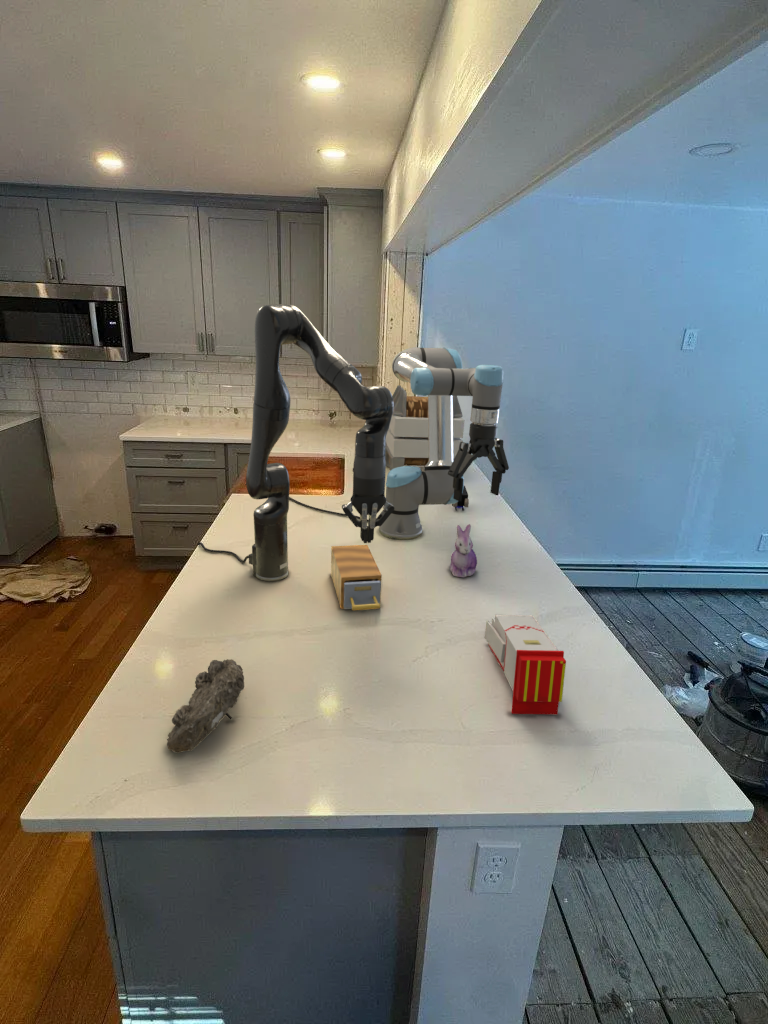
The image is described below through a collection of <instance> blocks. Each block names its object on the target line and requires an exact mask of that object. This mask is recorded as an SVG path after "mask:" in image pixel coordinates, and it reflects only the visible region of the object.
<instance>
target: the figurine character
mask: <svg viewBox="0 0 768 1024" xmlns="http://www.w3.org/2000/svg"><path fill="white" fill-rule="evenodd" d="M469 505H470V500H469V492H468V490H467V488H466V485H464V488H463V492H462V500H461V501H458V502H457V503H455V504H451V506H452V507H453V508H454V511H456V512H457V511H458V509H461V511H462V512H464V511H465V508H469Z"/></svg>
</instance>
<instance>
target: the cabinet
mask: <svg viewBox="0 0 768 1024" xmlns="http://www.w3.org/2000/svg"><path fill="white" fill-rule="evenodd" d="M330 548H331V550H330V553H331V554H330V555H331V556H330V576H331V579H332V583H333V586H334V590H335V593H336V597H337V600H338V604H339V607H340V609H341V610H345V609H344V583H345V581H349V580H366V579H375V581H380V582H381V583H382V581H383V580H382V576H383V575H382V572H381V571H380V569H379V566H378V565H377V562H376V560H375V557H374V555H373V554H372V551H371V549H370V548H369V545H368V544H353V545H352V544H351V545H332V546H330ZM381 599H382V592H381V593H380V603H381V602H382V600H381Z"/></svg>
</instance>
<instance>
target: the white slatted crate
mask: <svg viewBox="0 0 768 1024" xmlns="http://www.w3.org/2000/svg"><path fill="white" fill-rule="evenodd" d="M407 394H408V393H407V390H406V389H404V388H403V387H402V385H399V384H398V385H397V386H396V388H395V390H394V392H393V394H392V397H393V403H394V407H393V414H392V418H391V422H390V425H389V429H388V432H387V435H386V448H385V461H386V467H388V468H389V471H390V470H392V469H394V468H397V467H402V466H416V467H425V465H426V464H427V463H428V462H429V439H428V396H419V395H414V396H413V395H412V396H411V395H407ZM452 398H453V461H454V458H455V456H456V454H457V452H458V450H459V445H460V442H464V441H463V440H462V439H463V438H464V431H465V430H464V429H465V419H464V418H463V411H462V408H461V405H460V402H459V398H458V396H452Z"/></svg>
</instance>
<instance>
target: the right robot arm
mask: <svg viewBox="0 0 768 1024" xmlns="http://www.w3.org/2000/svg"><path fill="white" fill-rule="evenodd" d="M391 368H392V373H393V375H394V376H395V377H396V378H397V379H398V380H400V381H401V382H405V383H409V384H410V390H411V393H412V394H413V395H414V396H422V397H428V439H429V462H428V463H427V464H426V465H425V466H424V470H423V471H422V469H421V467H420V466H407V465H404V466H402V467H397V468H394V469H392V470H390V469H389V470H388V472H387V475H386V480H385V498H386V501H387V502H388V503H391V504H392V505H393V506H394V511H393V512H392V513H391V514H390V516H389V517H388V518H387V519H386V520H385V522H384V523H383V524H382V525H381V526H378V533H379V534H380V535H381V536H382V537H385V538H387V539H389V540H395V541H410V540H415V539H418V538H420V537H421V536H422V535H423V525H422V524H421V518H420V515H419V507H420V506H427V505H428V506H433V505H434V506H435V505H444V506H447V505H452V504H455V503H457V502H458V501H461V500H462V492H463V488H464V486H465V476H464V474H465V473H466V472H467V470H468V469H469V468H470V466H471V465H472V464H473V462H474V461H476V460H477V458H479V459H480V458H483V457H484V458H487V459H488V461H489V462H490V464H491V465H492V467H493V469H494V470H493V471H492V475H491V483H490V484H491V485H490V494H492V495H495V496H499V493H500V484H502V482H503V481H502V480H503V479H502V478H503V475H504V474H506V473H507V471H508V470H509V469H510V467H509V463H508V460H507V456H506V452H505V449H504V440H503V439H501V438H497V437H498V436H497V435H498V428H499V427H498V425H497V424H498V423H499V419H500V417H499V416H500V408H501V399H502V392H503V383H504V368H503V367H502V366H500V365H495V364H479V365H477V366H476V367H466V368H464V367H463V361H462V357H461V355H460V353H459V351H457V349H455V348H448V347H447V348H446V347H418V346H417V347H416V346H415V347H409V348H406V349H403V350H401V351H399V352H398V353H397V354H396V355H395V356H394V358H393V360H392V363H391ZM452 396H457V397H472V399H471V401H472V403H471V409H470V410H471V411H470V419H469V420H470V422H471V423H470V424H469V432H468V436H469V441H468V442H464V441H463V442H460V445H459V450H458V452H457V454H456V456H455V458H454V461H453V398H452ZM493 449H494V450H495V451H494V450H493ZM244 485H245V486H246V483H245V484H244ZM289 501H292V502H294V503H296V504H298V505H300V506H303V507H305V508H308V509H310V510H314V511H318V512H322V513H327V514H331V515H337V516H342V517H348V516H347V515H346V514H345V513H344V512H343V513H342V512H336V511H332V510H326V509H322V508H319V507H316V506H315V507H314V506H311V505H309V504H306V503H303V502H301V501H299V500H297V499H294V498H293V497H291V496H289ZM353 515H354V516H355V517H356V518H357V520H360V515H359V516H358V515H355V514H353ZM367 523H368V519H367Z"/></svg>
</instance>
